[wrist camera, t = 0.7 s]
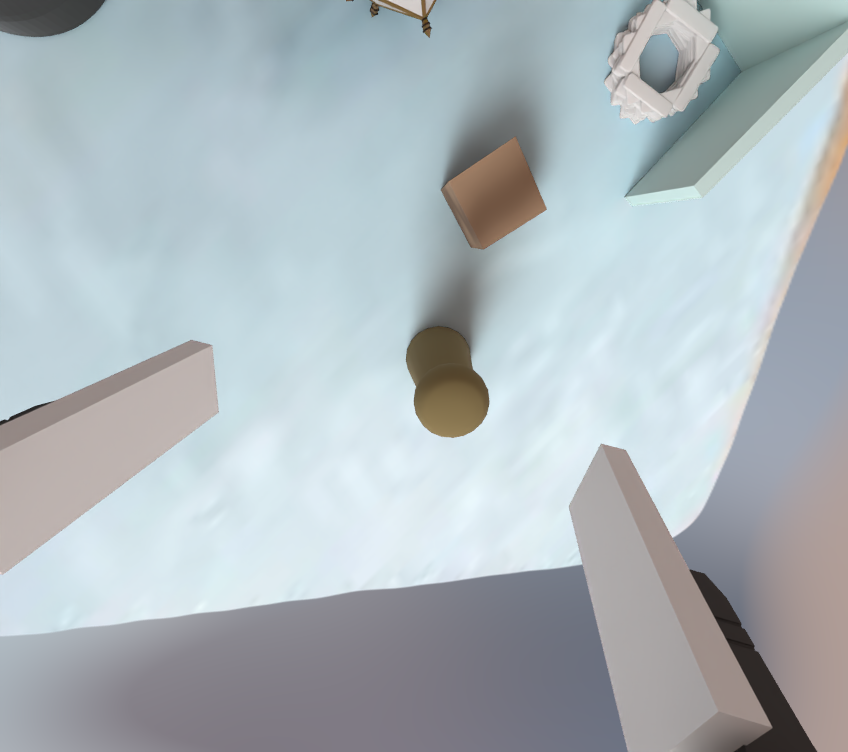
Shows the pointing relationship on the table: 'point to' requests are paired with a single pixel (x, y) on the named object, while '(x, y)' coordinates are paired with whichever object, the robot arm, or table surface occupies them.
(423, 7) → the game die
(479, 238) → the walnut block
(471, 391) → the cork
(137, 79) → the table surface
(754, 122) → the l-shaped corner panel
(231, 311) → the table surface
